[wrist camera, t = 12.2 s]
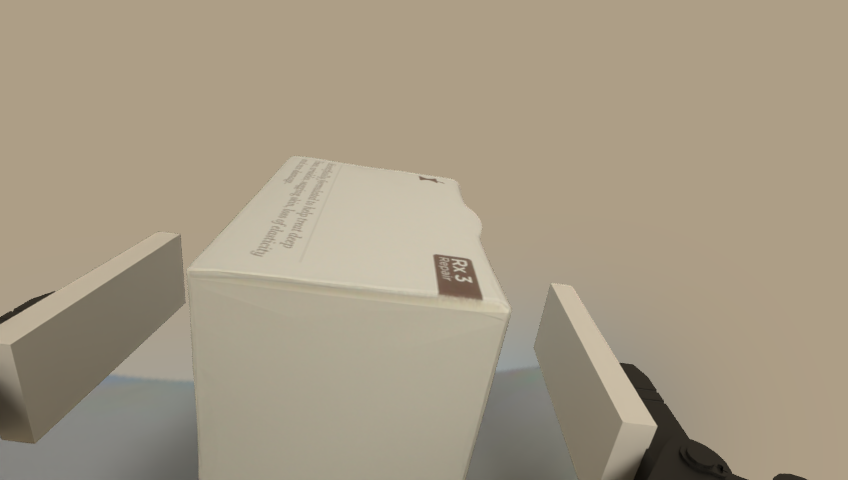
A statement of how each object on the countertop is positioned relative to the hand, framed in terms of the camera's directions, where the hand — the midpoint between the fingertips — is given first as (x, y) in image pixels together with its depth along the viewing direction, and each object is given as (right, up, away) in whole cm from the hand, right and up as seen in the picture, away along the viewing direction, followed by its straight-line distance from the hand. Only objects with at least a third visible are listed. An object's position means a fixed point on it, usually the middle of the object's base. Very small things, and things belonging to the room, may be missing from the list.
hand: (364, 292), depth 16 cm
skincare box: (-1, -11, +1) cm, 11 cm away
